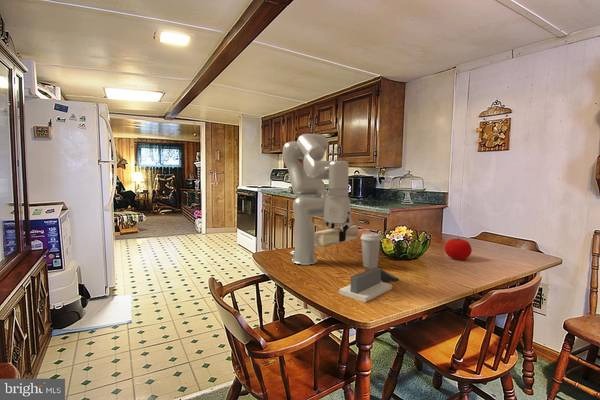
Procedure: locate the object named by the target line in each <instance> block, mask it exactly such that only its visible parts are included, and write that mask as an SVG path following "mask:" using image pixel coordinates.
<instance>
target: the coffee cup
mask: <svg viewBox="0 0 600 400" xmlns="http://www.w3.org/2000/svg"><path fill="white" fill-rule="evenodd" d="M381 240H382V237H381V234H380V233H375V232H363V233H361V236H360V241H361V255H362V267H363V268H366V267H368V268H367V269H372V268H374V267H377V268H378V263H379V257H380V256H379V254H380V246H381Z"/></svg>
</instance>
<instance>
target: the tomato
mask: <svg viewBox="0 0 600 400" xmlns="http://www.w3.org/2000/svg"><path fill="white" fill-rule="evenodd" d="M471 246H472V245H471V243H470V242H468V241H467V240H465V239H461V238H459V237H458V238H451V239H448V240H447V241H446V243H445V244H444V252H445V254H446V255H447V256H448V257H449V258H452V259H454V260H461V261H462V260H466V259H468V258H469V257H470V256H471V254H472V249H473V248H472V247H471Z"/></svg>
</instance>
